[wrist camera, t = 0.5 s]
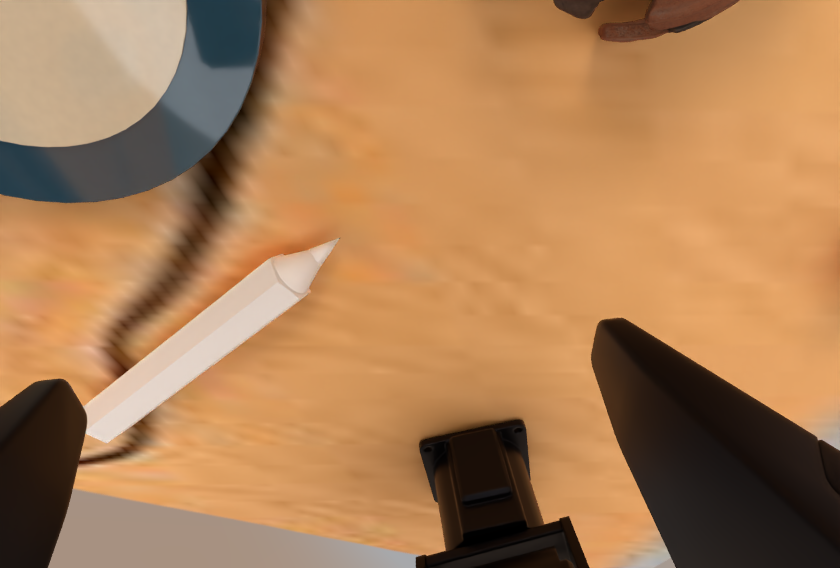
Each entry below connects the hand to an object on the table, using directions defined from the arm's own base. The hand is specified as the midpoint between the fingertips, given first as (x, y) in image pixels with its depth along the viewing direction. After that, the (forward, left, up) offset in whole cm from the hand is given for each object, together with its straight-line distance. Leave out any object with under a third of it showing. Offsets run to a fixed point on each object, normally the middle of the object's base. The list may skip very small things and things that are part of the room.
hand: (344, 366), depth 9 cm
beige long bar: (-9, +9, -14) cm, 18 cm away
